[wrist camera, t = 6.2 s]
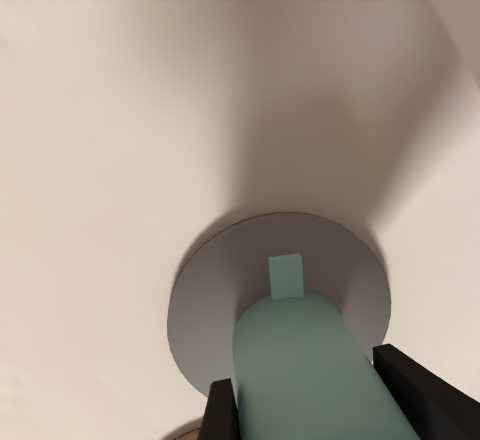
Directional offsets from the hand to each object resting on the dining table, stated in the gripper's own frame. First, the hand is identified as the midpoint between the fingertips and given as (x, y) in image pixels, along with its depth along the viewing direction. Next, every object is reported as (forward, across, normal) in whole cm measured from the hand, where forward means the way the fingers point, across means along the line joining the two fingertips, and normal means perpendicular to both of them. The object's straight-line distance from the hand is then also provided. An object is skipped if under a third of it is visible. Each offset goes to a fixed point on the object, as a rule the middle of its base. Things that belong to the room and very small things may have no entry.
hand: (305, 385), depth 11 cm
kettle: (+3, 0, 0) cm, 3 cm away
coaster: (+4, 0, 0) cm, 4 cm away
